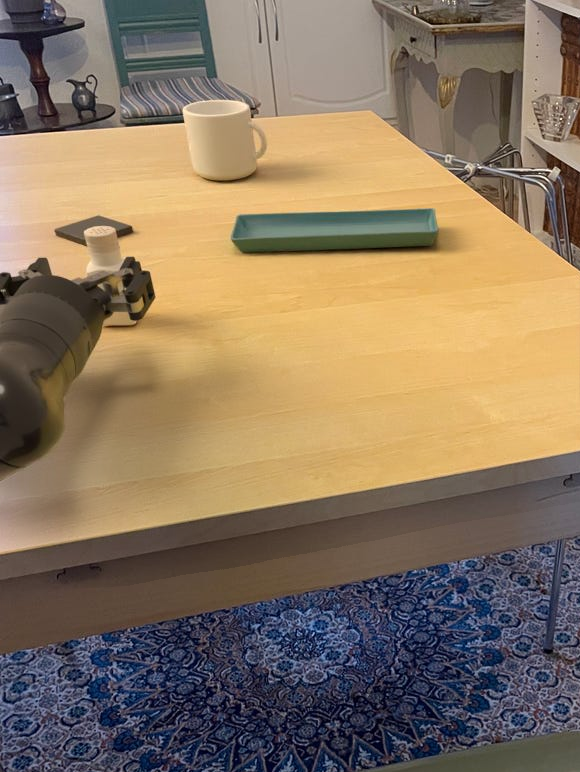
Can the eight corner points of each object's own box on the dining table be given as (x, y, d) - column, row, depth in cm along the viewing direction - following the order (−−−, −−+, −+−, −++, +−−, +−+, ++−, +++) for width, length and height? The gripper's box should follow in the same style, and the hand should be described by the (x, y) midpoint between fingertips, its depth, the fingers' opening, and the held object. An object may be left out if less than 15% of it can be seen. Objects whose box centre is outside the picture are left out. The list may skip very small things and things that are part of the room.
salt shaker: (136, 327, 102) (114, 237, 96) (99, 327, 102) (74, 237, 95) (143, 312, 105) (123, 224, 98) (107, 312, 105) (84, 224, 98)
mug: (283, 166, 146) (275, 101, 140) (260, 186, 139) (250, 118, 133) (210, 161, 148) (199, 96, 142) (183, 181, 140) (171, 113, 134)
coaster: (89, 246, 120) (87, 240, 119) (55, 235, 123) (53, 229, 122) (133, 232, 124) (132, 225, 123) (99, 221, 127) (98, 214, 126)
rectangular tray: (232, 255, 118) (228, 235, 116) (239, 230, 125) (236, 211, 123) (439, 251, 120) (439, 231, 118) (435, 226, 127) (434, 207, 125)
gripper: (118, 292, 80) (153, 227, 92) (-54, 294, 79) (4, 228, 91) (139, 374, 85) (169, 302, 97) (-23, 377, 84) (28, 304, 96)
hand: (89, 266), depth 94 cm, fingers open, 8 cm apart
